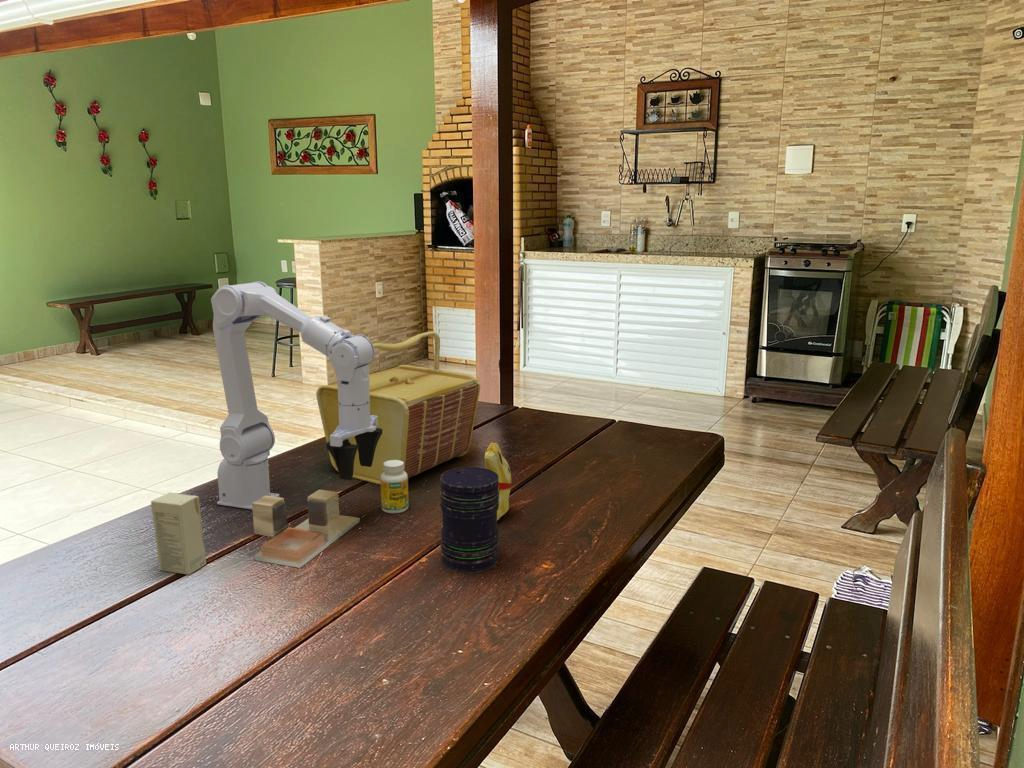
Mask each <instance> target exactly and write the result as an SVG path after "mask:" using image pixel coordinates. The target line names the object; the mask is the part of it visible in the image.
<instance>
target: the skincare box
mask: <svg viewBox="0 0 1024 768" xmlns="http://www.w3.org/2000/svg"><path fill="white" fill-rule="evenodd" d="M150 505H151V512H152V519H153V528H154V535H155V537H154V538H155V542H156V543H155V544H156V551H157V558H158V566H159V570H160V571H164V572H171V573H175V574H176V573H177V574H180V575H181V574H182V575H191V574H192V573H194V572H196V571H198V570H199V569H200V568H203V566H205V565H207V559H206V550H205V548H206V547H205V542H204V541H205V539H204V531H203V523H202V515H201V506H200V497H199V496H198V495H195V494H194V495H193V494H186V493H178V492H168V493H166V494H163V495H161V496H159V497H157V498H155V499H152V500H151V501H150Z"/></svg>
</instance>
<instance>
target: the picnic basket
mask: <svg viewBox="0 0 1024 768" xmlns="http://www.w3.org/2000/svg"><path fill="white" fill-rule="evenodd" d="M431 336H432V337H433V340H434V350H433V351H434V353H433V368H428V367H422V366H415V365H408V364H400V365H398V366H396V367H393V368H388V369H383V370H381V371H377V372H372V373H369V388H370V415H375V416H378V425H377V426H376V428H381V429H382V434H381V436H380V438H379V440H378V443H377V446H376V449H375V453H374V458H373V463H372V466H371V467H367V466H361V465H360V461H359V454H358V449H357V451H356V455H355V459H354V470H353V477H352V479H353V478H354V479H358V480H361V481H365V482H369V483H372V484H376V485H380V486H381V481H380V477H381V475H382V473H383V472H385V471H384V470H383V463H384V462H386V461H390V460H400V461H403V462H404V470H403V471H405V472H406V473H407V475H408V479H410V478H413V477H414V476H418V475H419V474H421V473H424V472H425V471H428V470H430V469H432V468H435V467H436V466H438V465H441V464H444V463H445V462H448V461H450V460H452V459H455V458H460V457H462V456H464V455H465V454H467V453H468V451H469V449H470V446H471V442H472V436H473V430H474V424H475V419H476V414H477V409H478V405H479V404H478V403H479V398H480V394H481V393H480V392H481V382H480V381H479V379H478V378H477V377H476V376H475V375H471V374H469V373H463V372H458V371H457V372H456V371H448V370H443V369H440V355H441V350H440V349H441V338H440V335H439V334H438V333H437V332H435V331H426V332H422V333H419V334H417V335H414V336H412V337H410V338H408V339H406V340H405V341H402V342H397V343H382V342H381V343H379V342H376V343H375V342H374V343H372V344H373V346H374V349H379V350H381V351H384V352H395V351H401V350H405V349H407V348H411V347H412V346H415V345H416V344H417V343H418V342H419V341H420V340H421V339H423V338H426V337H431ZM316 390H317V391H316V392H315V394H316V400H317V402H316V403H317V405H318V410H319V414H320V415H319V416H320V419H321V424H322V429H323V433H324V436H325V442H326V443H327V442H329V441H330V435H332V434H333V433H334V431H335V430H336V428H337V427H338V425H339V411H338V384H337V382H334V383H330V384H327V385H326V384H324V385H323V384H322V385H321V386H319V387H318V388H317V389H316ZM349 442H350V443H351V444H354V445H357V443H356V440H355V437H353V438H351V439H349ZM327 451H328V455H329V460H330V462H331V465H332V467H334V469H335V470H336V472H338V469H337V466H336V463H335V461H334V458H333V457H332V455H331V453H330V452H329V450H328V449H327Z"/></svg>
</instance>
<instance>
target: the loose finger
mask: <svg viewBox="0 0 1024 768" xmlns="http://www.w3.org/2000/svg"><path fill="white" fill-rule="evenodd" d="M251 510H252V521H253V534H254V533H257V534H256V535H258V534H259V536H266V537H272V538H273V537H275V536H276V535H278V534H279V533H281V532H282V531H284V530H285V529H287V528H286V527H287V525H288V520H287V519H288V517H287V502H286V501H285V497H281V496H279V497H273V496H266V495H265V496H264V497H262V498H260V499H258V500H257V501H255V502H253V503H252V509H251Z"/></svg>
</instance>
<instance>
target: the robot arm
mask: <svg viewBox="0 0 1024 768" xmlns="http://www.w3.org/2000/svg"><path fill="white" fill-rule="evenodd" d="M210 303H211V307H212V312H213V318H212V331H213V337H214V342H215V346H216V353H217V359H218V363H219V369H220V374H221V380H222V385H223V389H224V396H225V403H226V406H227V408H226V409H227V413H228V415H227V416H226V418H225V420H224V421H223V422H222V424H221V425H220V426H219V427H220V428H219V432H220V439H219V451H220V453H221V456H222V457H223V459H222V461H220V463H219V465H218V468H217V484H218V485H217V486H218V487H217V488H218V495H219V496H218V497H219V500H218V501H217V502H216V504H217V505H220V506H226V507H227V506H228V507H233V508H240V509H245V510H252V503H253V502H255V501H257V500H258V499H260V498H262V497H264V496H265V495H266V496H273V497H281V496H280V494H279V493H275V492H274V493H272V492H271V486H270V471H269V470H270V469H269V458H268V457H270V455H271V454H270V453H271V452H270V451H271V450H272V449H273V447H274V445H275V442H276V436H275V433H274V430H273V429H272V427H271V424H270V423H269V418H268V415H266V414H265V413H263V412H261V411H260V410H259V409H258V404H257V399H256V392H255V388H254V387H255V386H254V380H253V376H252V370H251V364H250V359H249V358H250V356H249V353H248V347H247V342H246V340H247V339H246V336H245V332H246V330H247V329H248V328H249V327H250V325H251V324H252V323H253V322H254V321H255V320H256V319H258V318H260V317H261V316H268V317H270V318H272V319H274V320H276V321H277V322H280V323H281V324H283V325H285V326H288V327H289V328H291V329H292V330H294V331H297V332H299V333H300V336H301V340H302V342H303V343H305V344H307V345H308V346H309V347H311V348H312V349H314V350H316V351H317V352H318V353H321V354H322V355H324V356H326V357H328V358H329V361H330V364H331V365H332V367H333V368H334V372H335V377H336V380H337V382H336V383H337V384H338V411H339V425H338V427H337V428H336V430H335V431H334V433H333V434H332V435H330V441H329V442H326V449H327V451H328V450H329V451H328V453H329V452H330V453H331V455H332V457H333V458H334V461H335V463H336V466H337V469H338V471H337V473H338V475H339V478H340V480H345V481H346V480H347V481H351V480H353V470H354V459H355V455H356V451H357V449H358V454H359V461H360V465H361V466H367V467H371V466H372V463H373V458H374V453H375V449H376V446H377V443H378V440H379V438H380V436H381V434H382V429H381V428H376V426H377V425H378V416H375V415H370V388H369V374H370V364H371V363H372V362H373V360H374V358H375V354H376V352H375V350H376V349H375V348H374V346H373V344H374V343H372V341H371V340H370V339H369V338H368V337H367V336H366V334H362V333H361V334H355V335H354V334H351V331H350V330H349V329H344V328H342V327H340V326H339V325H337V324H335V323H333V322H332V321H331V318H330V317H329V316H327V315H315V316H312V317H311V316H309V315H308V314H307V313H306V312H304V311H303V310H301V309H300V308H298V307H297V306H295V305H294V304H293V303H291V302H289V301H288V300H287V299H285V298H284V297H283V296H281V295H279V294H278V293H277V292H276V289H275V288H274V287H273V286H270V285H267V284H266V283H265V282H263V281H258V280H256V281H253V282H247V283H238V284H231V285H230V284H224V285H222V286H220V287H219V288H217V290H216V291H215V293H213V295H212V297H211V298H210ZM353 437H355V440H356V443H357V445H354V444H351V443H350V442H349V439H351V438H353Z"/></svg>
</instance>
